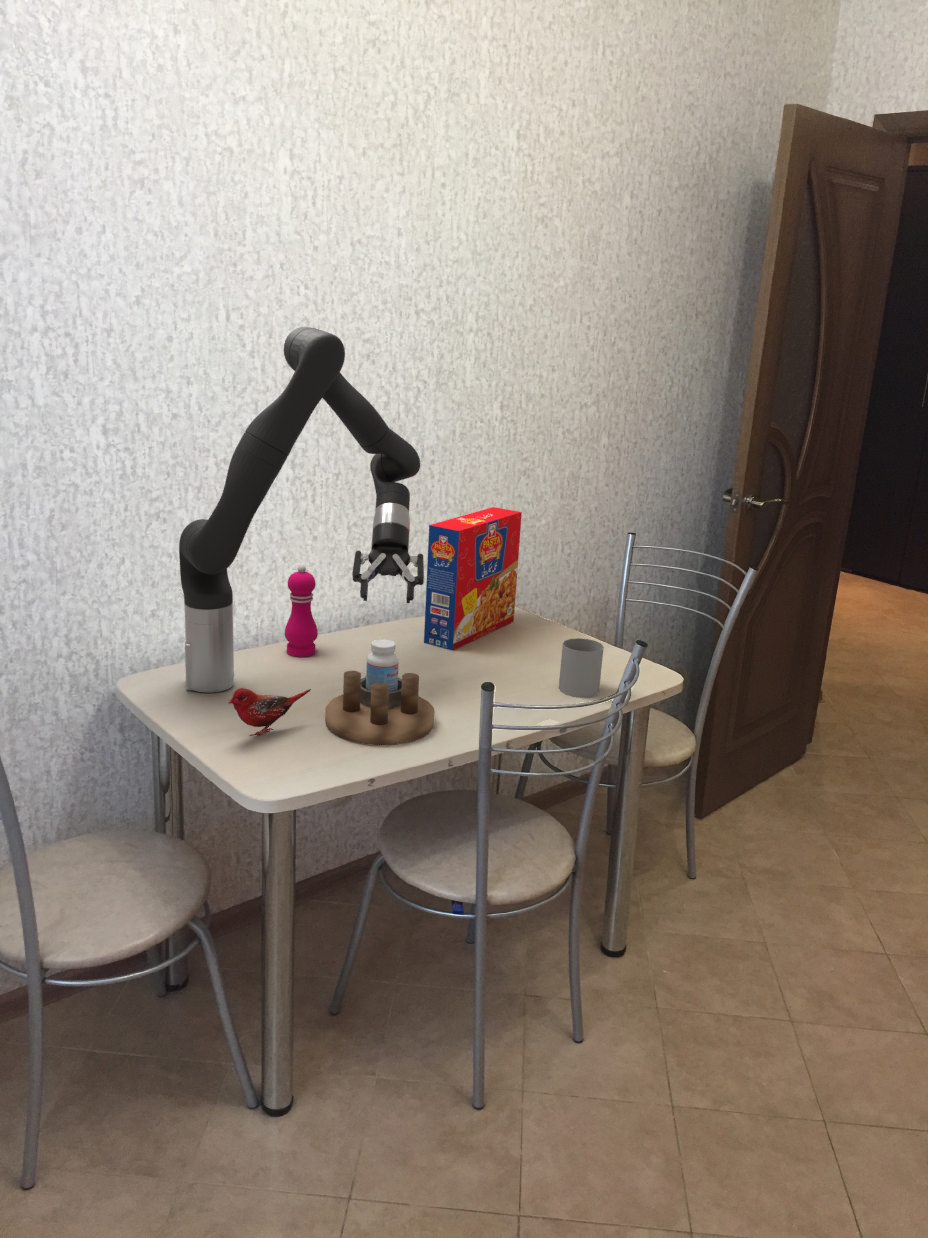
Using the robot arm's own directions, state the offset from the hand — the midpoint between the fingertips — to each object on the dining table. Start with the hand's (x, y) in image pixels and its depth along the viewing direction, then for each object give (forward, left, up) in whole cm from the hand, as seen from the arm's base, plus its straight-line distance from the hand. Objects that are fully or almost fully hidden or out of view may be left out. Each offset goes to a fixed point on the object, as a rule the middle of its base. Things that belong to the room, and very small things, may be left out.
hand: (386, 600), depth 202 cm
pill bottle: (-2, -11, -17) cm, 20 cm away
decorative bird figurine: (-23, -19, -19) cm, 35 cm away
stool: (-3, -16, -19) cm, 25 cm away
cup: (+41, -3, -19) cm, 45 cm away
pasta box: (+26, +35, -19) cm, 47 cm away
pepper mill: (-15, +23, -19) cm, 34 cm away
